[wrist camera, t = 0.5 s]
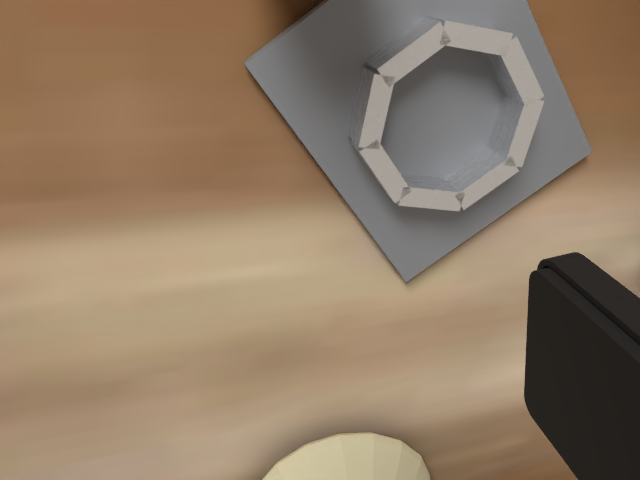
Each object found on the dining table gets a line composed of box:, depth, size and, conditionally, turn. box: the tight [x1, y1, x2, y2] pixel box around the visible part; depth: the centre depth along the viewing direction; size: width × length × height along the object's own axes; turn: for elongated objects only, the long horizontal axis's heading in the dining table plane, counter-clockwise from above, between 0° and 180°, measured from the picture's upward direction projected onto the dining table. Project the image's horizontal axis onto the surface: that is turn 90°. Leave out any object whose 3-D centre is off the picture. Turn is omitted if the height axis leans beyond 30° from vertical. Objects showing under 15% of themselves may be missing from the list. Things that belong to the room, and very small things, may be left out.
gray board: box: [244, 0, 592, 282], centre depth 35 cm, size 15×18×1 cm
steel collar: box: [347, 16, 544, 211], centre depth 34 cm, size 10×10×2 cm
